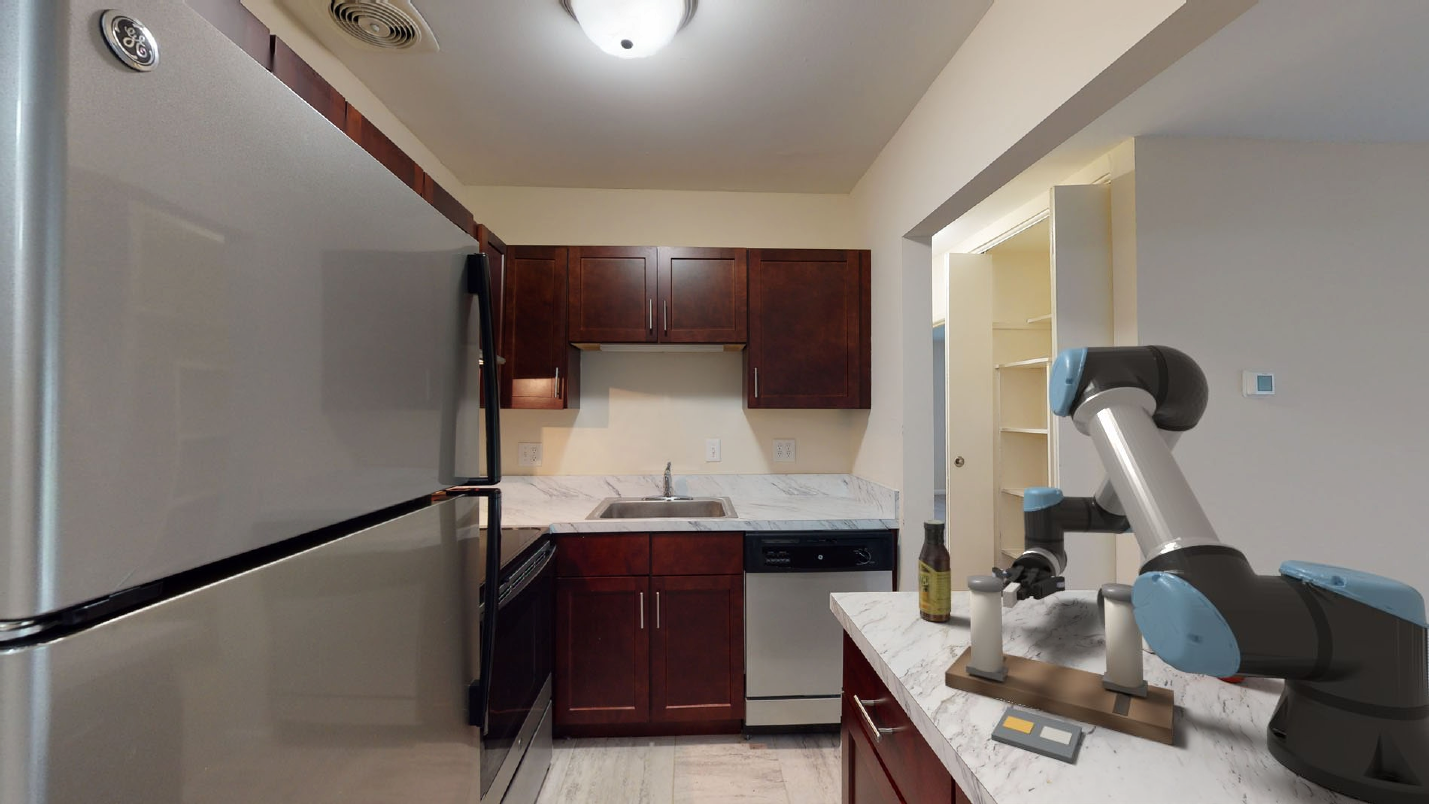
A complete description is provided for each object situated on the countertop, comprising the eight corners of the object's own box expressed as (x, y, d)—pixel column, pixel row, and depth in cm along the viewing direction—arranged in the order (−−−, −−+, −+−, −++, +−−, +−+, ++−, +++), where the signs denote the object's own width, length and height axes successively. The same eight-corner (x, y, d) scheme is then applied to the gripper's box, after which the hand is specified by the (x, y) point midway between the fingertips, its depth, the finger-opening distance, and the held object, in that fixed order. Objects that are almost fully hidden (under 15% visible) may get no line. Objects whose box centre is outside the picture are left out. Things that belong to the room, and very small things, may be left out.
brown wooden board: (1174, 704, 86) (1173, 689, 86) (1172, 745, 76) (1171, 728, 76) (969, 657, 103) (969, 645, 103) (945, 685, 93) (945, 671, 93)
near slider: (1148, 685, 87) (1145, 587, 87) (1146, 699, 83) (1143, 595, 83) (1105, 676, 90) (1102, 581, 90) (1101, 689, 86) (1098, 589, 86)
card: (1081, 731, 79) (1081, 725, 79) (1071, 763, 72) (1071, 757, 72) (1007, 710, 85) (1007, 705, 85) (991, 738, 78) (991, 733, 78)
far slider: (1009, 671, 92) (1007, 578, 93) (1001, 683, 88) (999, 586, 89) (974, 662, 96) (972, 573, 96) (964, 674, 92) (962, 580, 92)
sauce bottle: (915, 612, 126) (913, 517, 127) (946, 612, 126) (944, 517, 126) (923, 623, 120) (921, 523, 120) (956, 624, 119) (953, 523, 120)
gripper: (1073, 594, 117) (1051, 629, 99) (1001, 584, 125) (968, 614, 107) (1071, 556, 118) (1049, 583, 99) (1000, 547, 126) (967, 571, 107)
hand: (1007, 599), depth 103 cm, fingers closed
